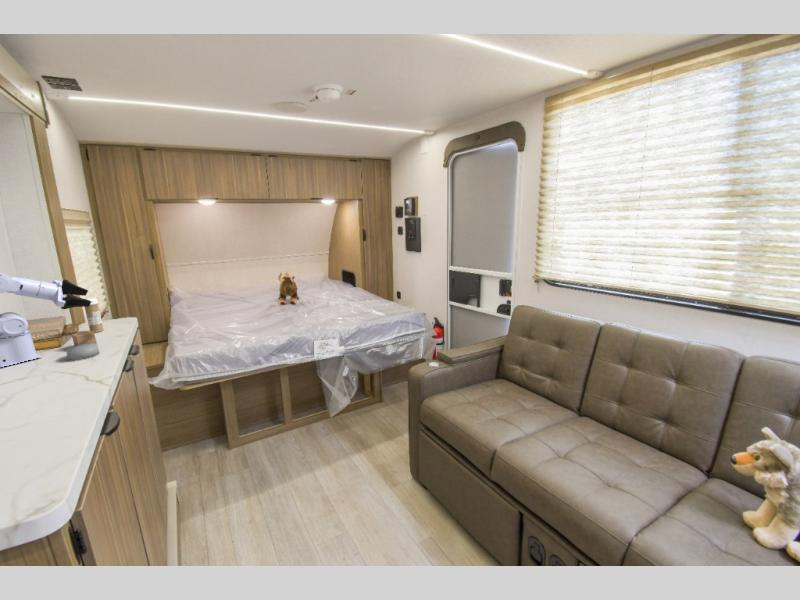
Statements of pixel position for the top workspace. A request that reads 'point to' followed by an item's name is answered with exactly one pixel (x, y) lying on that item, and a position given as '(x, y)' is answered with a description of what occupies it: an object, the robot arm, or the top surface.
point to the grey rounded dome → (82, 351)
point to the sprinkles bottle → (94, 316)
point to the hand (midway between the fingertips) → (88, 298)
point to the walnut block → (84, 338)
